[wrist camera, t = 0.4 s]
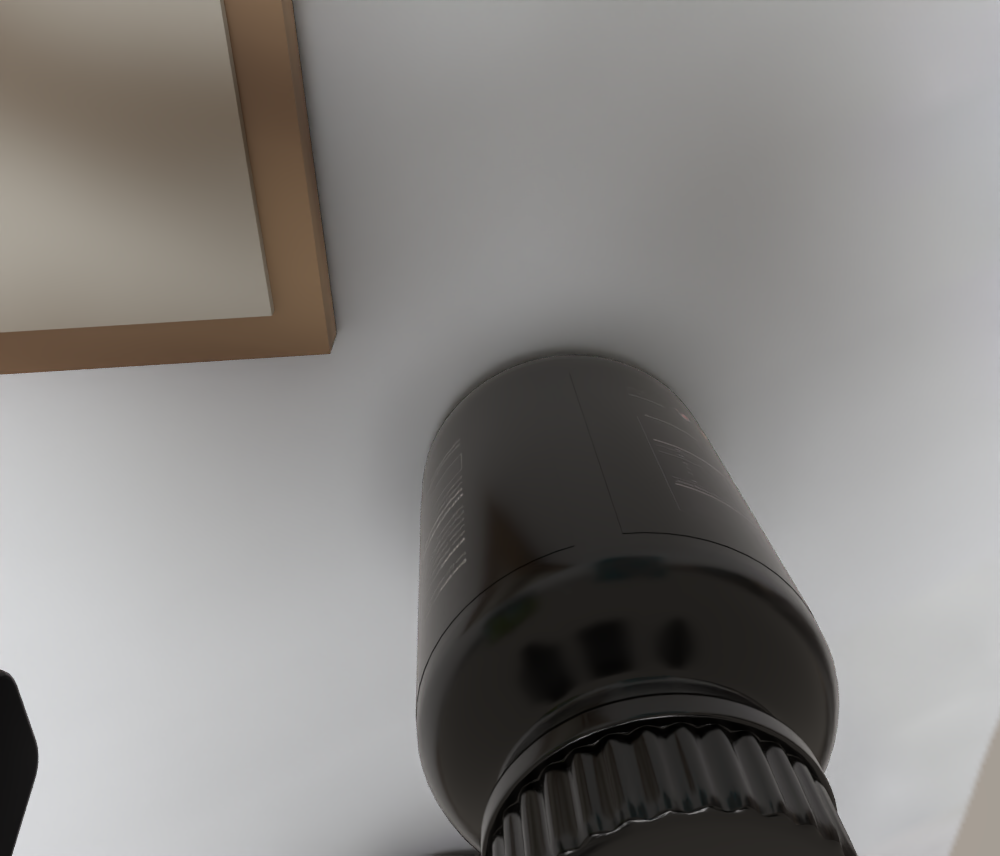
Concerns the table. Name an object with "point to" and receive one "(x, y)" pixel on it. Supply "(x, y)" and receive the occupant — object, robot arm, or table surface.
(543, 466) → the supplement bottle
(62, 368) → the picture frame
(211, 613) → the table surface
